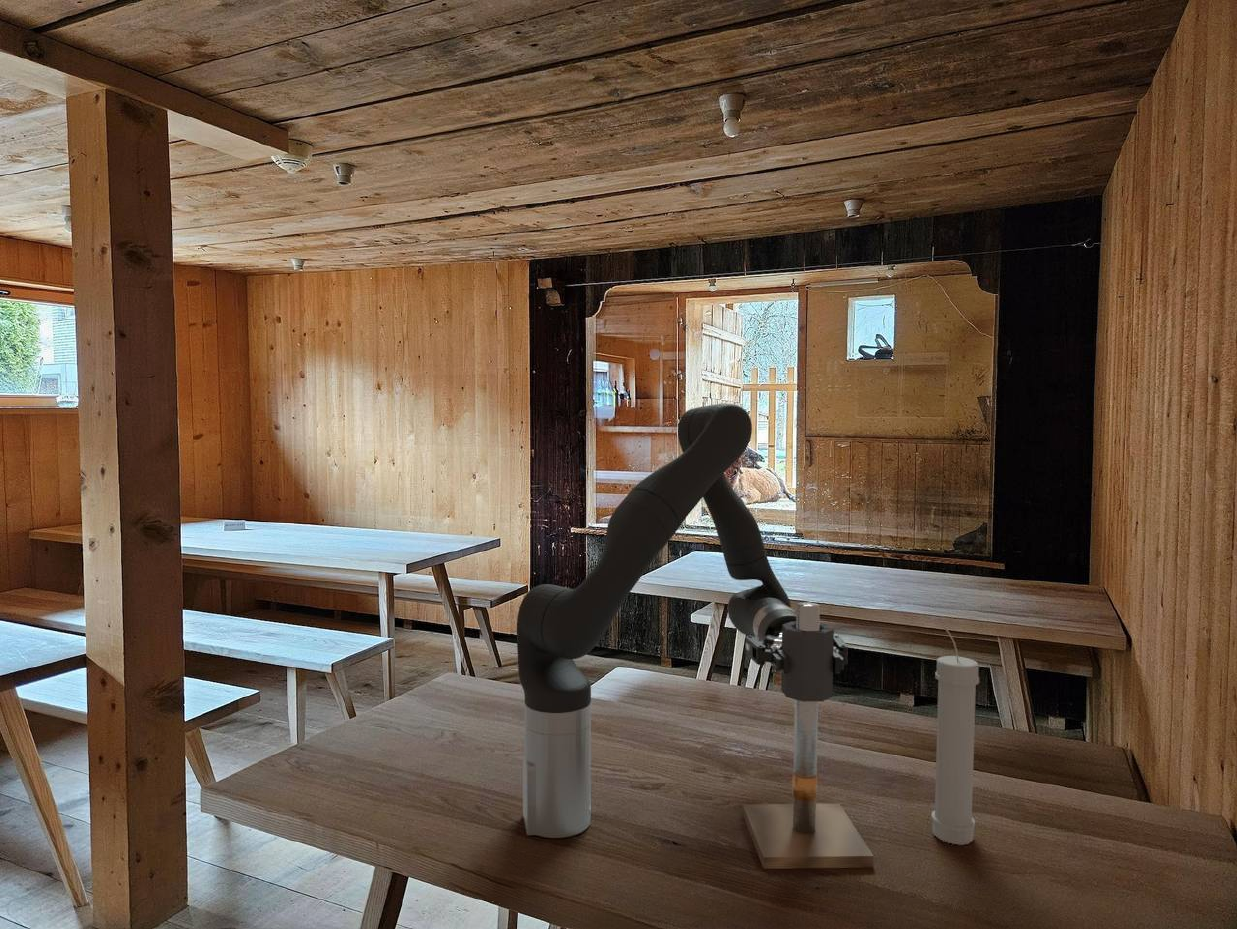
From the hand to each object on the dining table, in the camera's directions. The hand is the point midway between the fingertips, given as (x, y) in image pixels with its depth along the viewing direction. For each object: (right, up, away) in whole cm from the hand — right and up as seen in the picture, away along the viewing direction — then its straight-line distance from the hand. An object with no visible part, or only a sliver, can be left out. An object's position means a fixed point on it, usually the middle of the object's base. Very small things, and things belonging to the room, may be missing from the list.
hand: (812, 665), depth 104 cm
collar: (0, -4, +3) cm, 5 cm away
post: (0, -24, +4) cm, 25 cm away
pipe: (+20, -25, +5) cm, 32 cm away
